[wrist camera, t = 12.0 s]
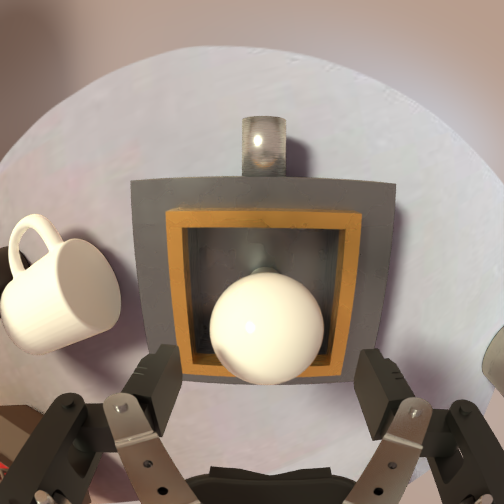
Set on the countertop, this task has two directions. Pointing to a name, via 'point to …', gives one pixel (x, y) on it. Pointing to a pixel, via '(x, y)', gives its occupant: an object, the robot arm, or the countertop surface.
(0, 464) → the brown cauldron
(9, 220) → the countertop surface
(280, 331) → the lightbulb
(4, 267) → the bottle
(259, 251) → the grey shallow box
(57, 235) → the mug
